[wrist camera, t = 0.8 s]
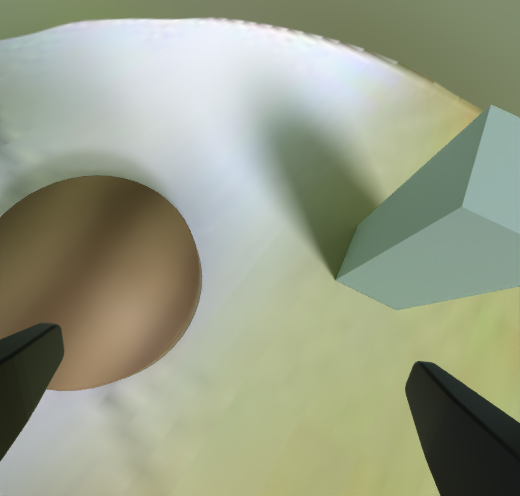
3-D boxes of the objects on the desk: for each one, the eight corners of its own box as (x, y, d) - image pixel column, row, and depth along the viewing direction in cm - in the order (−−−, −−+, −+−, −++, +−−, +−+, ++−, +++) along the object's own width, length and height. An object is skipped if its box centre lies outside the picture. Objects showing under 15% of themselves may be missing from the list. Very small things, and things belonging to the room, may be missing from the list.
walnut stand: (233, 243, 23) (234, 229, 20) (136, 421, 19) (120, 435, 16) (82, 168, 23) (61, 144, 21) (-44, 325, 19) (-91, 323, 17)
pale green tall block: (415, 252, 24) (610, 159, 12) (396, 310, 23) (598, 271, 10) (357, 225, 24) (491, 104, 12) (335, 280, 23) (461, 206, 11)
